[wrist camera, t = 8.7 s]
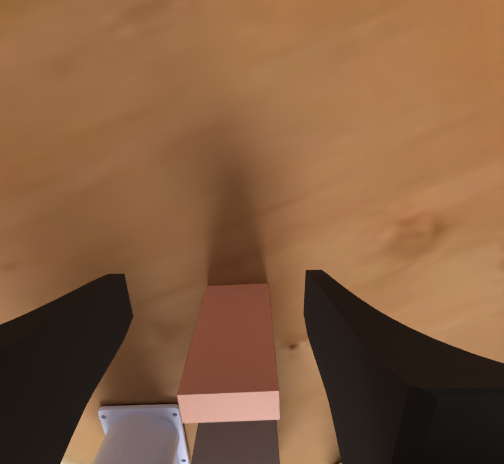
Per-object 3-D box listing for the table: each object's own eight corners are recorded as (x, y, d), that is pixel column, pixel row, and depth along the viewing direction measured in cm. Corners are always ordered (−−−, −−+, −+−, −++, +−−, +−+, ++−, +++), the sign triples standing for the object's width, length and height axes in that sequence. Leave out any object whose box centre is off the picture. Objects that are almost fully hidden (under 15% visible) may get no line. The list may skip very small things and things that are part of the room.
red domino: (268, 303, 24) (279, 419, 14) (209, 306, 24) (182, 423, 14) (267, 283, 23) (278, 390, 14) (206, 285, 23) (176, 395, 14)
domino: (269, 354, 26) (280, 486, 16) (215, 356, 26) (194, 488, 16) (269, 337, 25) (279, 464, 16) (213, 339, 25) (190, 466, 16)
